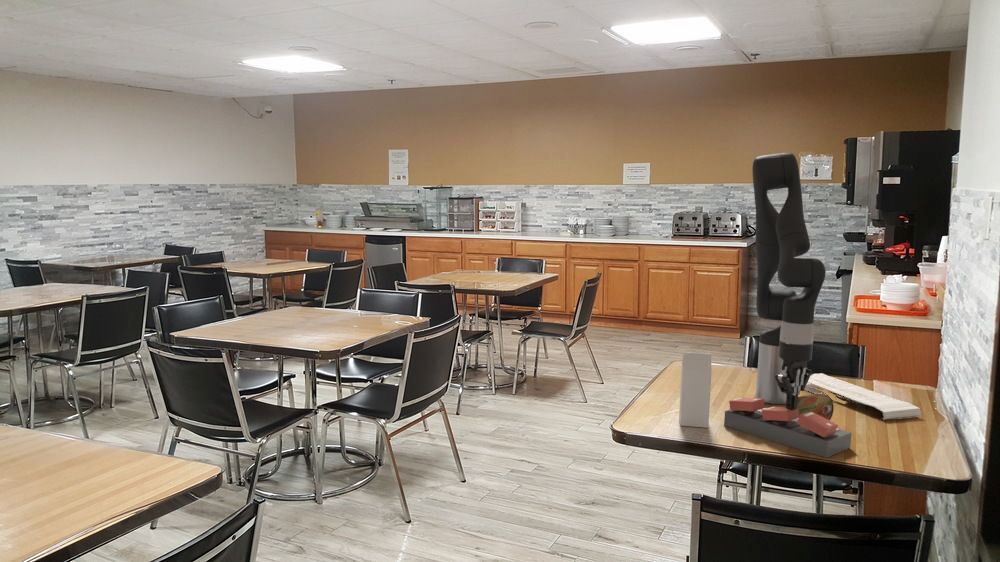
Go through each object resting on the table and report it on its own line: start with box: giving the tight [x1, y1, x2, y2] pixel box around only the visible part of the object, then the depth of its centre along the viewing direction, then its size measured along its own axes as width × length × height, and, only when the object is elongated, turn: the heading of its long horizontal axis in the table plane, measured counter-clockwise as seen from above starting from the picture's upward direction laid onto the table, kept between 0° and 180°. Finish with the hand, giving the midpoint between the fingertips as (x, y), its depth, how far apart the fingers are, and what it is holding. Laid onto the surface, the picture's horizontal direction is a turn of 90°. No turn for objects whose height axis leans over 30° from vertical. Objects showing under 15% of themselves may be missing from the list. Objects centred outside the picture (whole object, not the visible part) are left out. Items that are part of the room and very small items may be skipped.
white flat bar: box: [804, 372, 922, 421], centre depth 217 cm, size 12×4×40 cm
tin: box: [797, 393, 835, 421], centre depth 192 cm, size 15×3×8 cm, turn 117°
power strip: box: [723, 407, 852, 459], centre depth 183 cm, size 11×28×5 cm, turn 38°
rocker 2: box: [762, 406, 799, 421], centre depth 181 cm, size 5×7×2 cm
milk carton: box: [678, 351, 712, 429], centre depth 191 cm, size 7×7×19 cm
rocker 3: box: [797, 411, 839, 437], centre depth 173 cm, size 5×7×2 cm
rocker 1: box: [728, 397, 766, 411], centre depth 188 cm, size 5×7×2 cm
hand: (791, 409), depth 178 cm, fingers closed
